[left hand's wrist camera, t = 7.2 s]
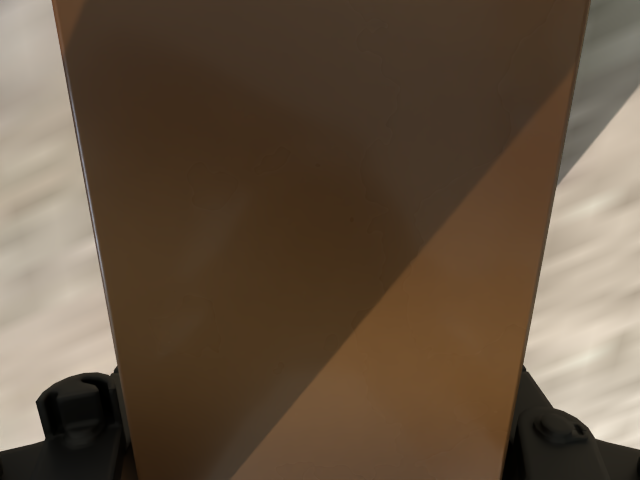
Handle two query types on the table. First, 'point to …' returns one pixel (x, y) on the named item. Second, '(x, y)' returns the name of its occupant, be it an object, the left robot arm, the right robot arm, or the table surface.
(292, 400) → the post
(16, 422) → the table surface
